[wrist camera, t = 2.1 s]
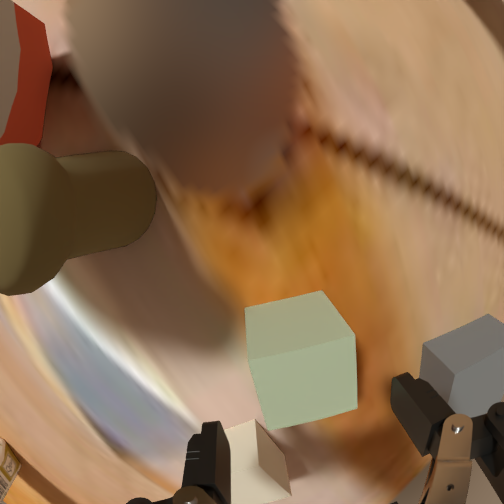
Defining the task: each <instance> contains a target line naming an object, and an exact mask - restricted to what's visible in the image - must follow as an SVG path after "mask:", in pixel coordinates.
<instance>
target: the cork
mask: <svg viewBox="0 0 504 504" xmlns="http://www.w3.org/2000/svg"><path fill="white" fill-rule="evenodd" d="M156 200H157V197H156V190H155V183H154V180H153V178H152V176H151V174H150V172H149V170H148V168H147V167H146V166H145V165H144V164H143V163H142V162H141V161H140V160H139V159H138V158H137V157H135V156H133V155H131V154H129V153H126V152H122V151H103V152H94V153H86V154H78V155H71V156H64V157H57V158H55V157H54V156H52V155H51V154H49V153H48V152H46V151H44V150H42V149H40V148H38V147H36V146H34V145H32V144H25V143H7V144H4V145H0V293H1V294H4V295H7V296H11V295H20V294H26V293H32V292H34V291H35V290H37V289H38V288H40V287H41V286H43V285H44V284H45V283H47V282H48V281H50V280H51V279H53V278H54V277H55V276H56V274H57V273H58V272H59V270H60V269H61V267H62V266H63V264H64V263H65V261H66V260H67V259H71V258H75V257H79V256H83V255H88V254H92V253H96V252H101V251H105V250H109V249H114V248H118V247H123V246H127V245H128V244H130V243H132V242H134V241H135V240H137V239H139V238H140V236H141V235H142V234H143V233H144V232H145V231H146V230H147V229H148V227H149V225H150V223H151V220H152V218H153V216H154V214H155V207H156Z"/></svg>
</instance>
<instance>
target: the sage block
mask: <svg viewBox="0 0 504 504" xmlns="http://www.w3.org/2000/svg"><path fill="white" fill-rule="evenodd" d="M245 324H246V340H247V356H248V363H249V367H250V370H251V374H252V378H253V381H254V385H255V388H256V392H257V395H258V399H259V402H260V406H261V409H262V412H263V416H264V419H265V423H266V426H267V429H268V431H270V430H275V429H280V428H285V427H290V426H294V425H299V424H303V423H307V422H311V421H315V420H319V419H323V418H326V417H330V416H334V415H337V414H341V413H344V412H347V411H350V410H354V409H357V364H356V343H355V334H354V333H353V331H352V330H351V328H350V327H349V326H348V324H347V323H346V322H345V320H344V319H343V318H342V316H341V315H340V314H339V312H338V311H337V310H336V308H335V307H334V306H333V304H332V303H331V302H330V300H329V299H328V298H327V296H326V295H325V294H324V292H323V291H322V290H321V291H317V292H313V293H308V294H304V295H300V296H296V297H291V298H287V299H283V300H278V301H274V302H269V303H265V304H260V305H255V306H251V307H246V308H245Z"/></svg>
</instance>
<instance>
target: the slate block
mask: <svg viewBox="0 0 504 504" xmlns="http://www.w3.org/2000/svg"><path fill="white" fill-rule="evenodd" d="M419 378H421V379H423V380H425V381H427V382H429V384H430V385H431V386H432V387H433V388H434V390H436V391H437V393H438V394H439V395H440V396H441V397H442V398H443V399H444V400H445V402H446V403H447V404H448V405H449V406H450V407H451V408H452V410H453V411H454V412H455V413H456V414H465V415H467V416H469V417H470V418H472V417H476V416H480V415H483V414H486V413H487V412H488V410H489V408H490V407H491V406H492V405H493V404H495V403H498V402H501V399H502V396H503V394H504V324H503V323H502V322H500V321H499V320H497V319H496V318H494V317H492V316H491V315H489V314H487V315H485V316H483V317H481V318H479V319H477V320H474V321H472V322H470V323H468V324H466V325H464V326H462V327H460V328H457V329H455V330H453V331H451V332H448V333H446V334H444V335H442V336H439V337H437V338H434V339H432V340H430V341H427V342H425V343H423V348H422V358H421V367H420V375H419Z"/></svg>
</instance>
